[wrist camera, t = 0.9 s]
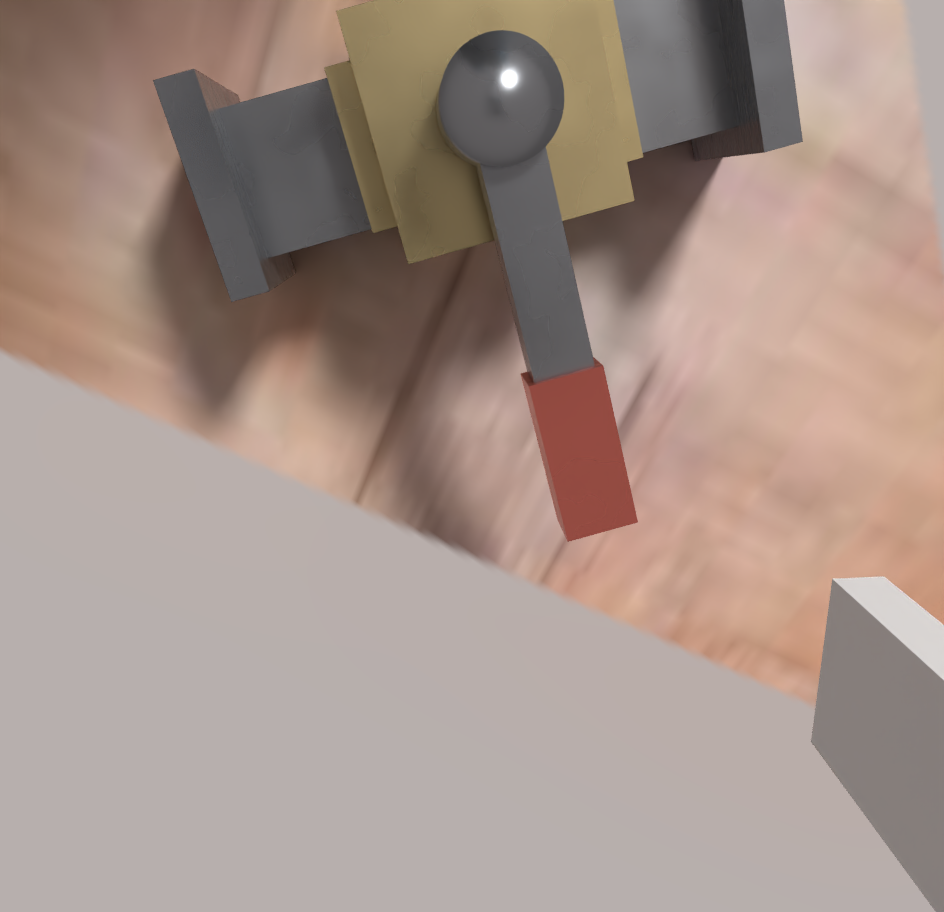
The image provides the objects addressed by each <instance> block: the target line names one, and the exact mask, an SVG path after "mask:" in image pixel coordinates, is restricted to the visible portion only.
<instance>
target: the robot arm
mask: <svg viewBox="0 0 944 912" xmlns="http://www.w3.org/2000/svg"><path fill="white" fill-rule="evenodd" d="M811 742H812V744H813V745H814V746H815V748H816V749H817V751H818V752H819V753H820V755H821V756H822V757H823V759H824V760H825V761H826V763H827V764H828V766H829V767H830V768H831V770H832V771H833V772H834V774H835V775H836V776H837V778H838V779H839V780H840V782H841V783H842V784H843V786H844V787H845V789H846V790H847V791H848V793H849V794H850V796H851V797H852V798H853V799H854V801H855V802H856V804H857V805H858V806H859V808H860V809H861V810H862V812H863V813H864V815H865V816H866V817H867V818H868V820H869V821H870V823H871V824H872V825H873V827H874V828H875V830H876V831H877V832H878V834H879V835H880V836H881V838H882V839H883V840H884V842H885V843H886V844H887V846H888V847H889V849H890V850H891V851H892V853H893V854H894V855H895V857H896V858H897V860H898V861H899V862H900V863H901V865H902V866H903V868H904V869H905V870H906V872H907V873H908V874H909V876H910V877H911V879H912V880H913V881H914V883H915V884H916V885H917V887H918V888H919V889H920V891H921V892H922V894H923V895H924V896H925V898H926V899H927V900H928V902H929V903H930V905H931V906H932V907H933V909H934V910H935V911H936V912H944V625H943V624H942V623H941V622H940V621H938V620H937V619H936V618H935V617H933V616H932V615H931V614H930V613H928V612H927V611H926V610H925V609H923V608H922V607H921V606H920V605H918V604H917V603H916V602H915V601H914V600H912V599H911V598H910V597H909V596H907V595H906V594H905V593H904V592H902V591H901V590H900V589H899V588H897V587H896V586H895V585H894V584H893V583H891V582H890V581H889V580H888V579H886V578H885V577H862V578H840V579H832V586H831V594H830V601H829V609H828V617H827V624H826V632H825V640H824V647H823V655H822V662H821V670H820V678H819V685H818V693H817V701H816V708H815V716H814V724H813V731H812V739H811Z"/></svg>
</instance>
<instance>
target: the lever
mask: <svg viewBox="0 0 944 912" xmlns="http://www.w3.org/2000/svg"><path fill="white" fill-rule="evenodd" d="M563 110H564V87H563V81H562V78H561V74H560V72H559V69H558V67H557V65H556V63H555V61H554V60H553V58H552V57H551V55H550V54H549V53H548V51H547V50H546V49H545V48H544V47H543V46H542V45H540V44H539V43H538V42H537V41H535V40H534V39H532V38H530V37H528V36H526V35H524V34H521V33H518V32H514V31H507V30H497V31H490V32H486V33H483V34H480V35H478V36H476V37H474V38H472V39H470V40H469V41H468V42H466V43H465V44H464V45H463V46H462V47H461V48H460V49H458V50H457V52H456V53H455V54H454V55H453V57H452V58H451V60H450V62H449V63H448V65H447V67H446V69H445V72H444V74H443V78H442V81H441V84H440V87H439V91H438V95H437V102H436V113H437V120H438V125H439V128H440V131H441V134H442V136H443V138H444V140H445V141H446V143H447V145H448V146H449V147H450V148H451V150H452V151H453V152H454V153H455V154H456V155H457V156H458V157H460V158H461V159H463V160H464V161H466V162H467V163H469V164H471V165H474V166H476V169H477V173H478V177H479V181H480V185H481V189H482V193H483V196H484V200H485V204H486V208H487V212H488V216H489V220H490V224H491V228H492V232H493V236H494V240H495V244H496V248H497V252H498V256H499V260H500V264H501V268H502V272H503V276H504V280H505V284H506V288H507V292H508V296H509V300H510V304H511V308H512V312H513V316H514V320H515V324H516V328H517V332H518V336H519V340H520V344H521V348H522V352H523V356H524V360H525V364H526V368H527V372H525V373H521V377H522V381H523V385H524V389H525V393H526V397H527V401H528V405H529V409H530V413H531V417H532V421H533V425H534V429H535V433H536V436H537V440H538V444H539V448H540V452H541V456H542V460H543V464H544V468H545V472H546V476H547V480H548V484H549V488H550V492H551V496H552V500H553V504H554V507H555V511H556V515H557V519H558V522H559V524H560V526H561V528H562V530H563V532H564V534H565V537H566V539H567V541H572V540H576V539H579V538H583V537H586V536H590V535H594V534H597V533H601V532H604V531H608V530H612V529H615V528H619V527H623V526H626V525H630V524H633V523H637V522H638V521H637V516H636V512H635V507H634V503H633V498H632V494H631V489H630V485H629V480H628V476H627V471H626V467H625V462H624V458H623V453H622V449H621V444H620V439H619V435H618V430H617V426H616V421H615V417H614V412H613V408H612V403H611V399H610V394H609V390H608V385H607V381H606V376H605V372H604V367H603V365H602V364H601V363H599V362H598V361H597V360H596V359H595V358H594V357H593V355H592V351H591V347H590V342H589V338H588V333H587V329H586V324H585V320H584V315H583V311H582V306H581V302H580V297H579V293H578V289H577V284H576V280H575V275H574V271H573V266H572V262H571V257H570V253H569V248H568V244H567V240H566V235H565V231H564V226H563V222H562V217H561V213H560V208H559V204H558V199H557V195H556V190H555V186H554V182H553V177H552V173H551V168H550V164H549V159H548V155H547V150H546V146H547V144H548V143H549V142H550V141H551V139H552V138H553V136H554V135H555V133H556V131H557V129H558V127H559V124H560V121H561V119H562V114H563Z"/></svg>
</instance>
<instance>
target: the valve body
mask: <svg viewBox="0 0 944 912" xmlns="http://www.w3.org/2000/svg"><path fill="white" fill-rule="evenodd" d="M336 12H337V16H338V19H339V23H340V26H341V30H342V33H343V37H344V40H345V44H346V47H347V51H348V54H349V58H350V61H346V62H343V63H339V64H336V65H332V66H328V67H325V72H326V75H327V78H325V79H322V80H318V81H315V82H311V83H308V84H304V85H301V86H297V87H294V88H290V89H286V90H283V91H279V92H276V93H272V94H269V95H265V96H262V97H258V98H255V99H251V100H248V101H244V102H240V101H239V98H238V95H237V94H235V93H233V92H232V91H230V90H228V89H227V88H225V87H223V86H222V85H220V84H218V83H217V82H215V81H213V80H212V79H210V78H208V77H207V76H205V75H203V74H202V73H200V72H199V71H197V70H195V69H191V70H188V71H184V72H181V73H177V74H174V75H170V76H167V77H163V78H160V79H156V80H153V82H154V85H155V87H156V90H157V93H158V96H159V99H160V102H161V104H162V107H163V110H164V113H165V116H166V118H167V121H168V124H169V127H170V130H171V133H172V135H173V138H174V141H175V144H176V147H177V150H178V152H179V155H180V158H181V161H182V164H183V166H184V169H185V172H186V175H187V178H188V181H189V183H190V186H191V189H192V192H193V195H194V197H195V200H196V203H197V206H198V209H199V212H200V214H201V217H202V220H203V223H204V226H205V228H206V231H207V234H208V237H209V240H210V243H211V245H212V248H213V251H214V254H215V257H216V259H217V262H218V265H219V268H220V271H221V274H222V276H223V279H224V282H225V285H226V288H227V290H228V293H229V296H230V299H231V302H233V301H236V300H240V299H243V298H247V297H251V296H254V295H258V294H261V293H265V292H268V291H270V290H272V289H273V288H275V287H276V286H278V285H279V284H281V283H282V282H283V281H285V280H286V279H288V278H289V277H291V276H292V275H294V274H295V273H296V272H295V269H294V266H293V263H292V260H291V257H290V254H289V252H291V251H295V250H299V249H302V248H306V247H309V246H313V245H316V244H320V243H323V242H327V241H331V240H334V239H338V238H341V237H345V236H348V235H352V234H356V233H359V232H363V231H366V230H370V229H372V232H373V233H376V232H379V231H383V230H386V229H390V228H393V227H398V230H399V234H400V237H401V241H402V244H403V248H404V251H405V255H406V258H407V262H408V264H411V263H415V262H418V261H422V260H425V259H429V258H433V257H436V256H440V255H443V254H447V253H450V252H454V251H457V250H461V249H465V248H468V247H472V246H475V245H479V244H482V243H486V242H490V241H493V240H494V236H493V232H492V228H491V224H490V220H489V216H488V212H487V208H486V204H485V200H484V196H483V193H482V189H481V185H480V181H479V177H478V173H477V169H476V166H474V165H471V164H469V163H467V162H466V161H464V160H463V159H461V158H460V157H458V156H457V155H456V154H455V153H454V152H453V151H452V150H451V148H450V147H449V146H448V145H447V143H446V141H445V140H444V138H443V136H442V134H441V131H440V128H439V125H438V120H437V113H436V102H437V95H438V91H439V87H440V84H441V81H442V78H443V74H444V72H445V69H446V67H447V65H448V63H449V62H450V60H451V58H452V57H453V55H454V54H455V53H456V52H457V50H458V49H460V48H461V47H462V46H463V45H464V44H465V43H466V42H468V41H469V40H470V39H472V38H474V37H476V36H478V35H480V34H483V33H486V32H490V31H497V30H507V31H514V32H518V33H521V34H524V35H526V36H528V37H530V38H532V39H534V40H535V41H537V42H538V43H539V44H540V45H542V46H543V47H544V48H545V49H546V50H547V51H548V53H549V54H550V55H551V57H552V58H553V60H554V61H555V63H556V65H557V67H558V69H559V72H560V74H561V78H562V81H563V87H564V110H563V114H562V119H561V121H560V124H559V127H558V129H557V131H556V133H555V135H554V136H553V138H552V139H551V141H550V142H549V143H548V144H547V146H546V150H547V155H548V159H549V164H550V168H551V173H552V177H553V182H554V186H555V190H556V195H557V199H558V204H559V208H560V213H561V217H562V221H564V220H568V219H572V218H575V217H579V216H582V215H586V214H589V213H593V212H597V211H600V210H604V209H607V208H611V207H614V206H618V205H622V204H625V203H629V202H632V201H635V200H634V195H633V190H632V185H631V180H630V175H629V170H628V164H627V162H628V161H632V160H636V159H639V158H643V153H644V152H648V151H651V150H655V149H658V148H662V147H665V146H669V145H672V144H676V143H680V142H683V141H687V140H690V139H691V141H692V146H693V152H694V158H695V161H699V160H707V159H715V158H723V157H731V156H739V155H747V154H755V153H763V152H767V151H771V150H775V149H778V148H782V147H785V146H789V145H792V144H796V143H800V142H803V140H802V133H801V125H800V118H799V110H798V103H797V95H796V88H795V80H794V73H793V65H792V58H791V50H790V43H789V35H788V28H787V20H786V13H785V5H784V0H374V1H370V2H367V3H363V4H360V5H356V6H352V7H349V8H345V9H342V10H338V11H336Z"/></svg>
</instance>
